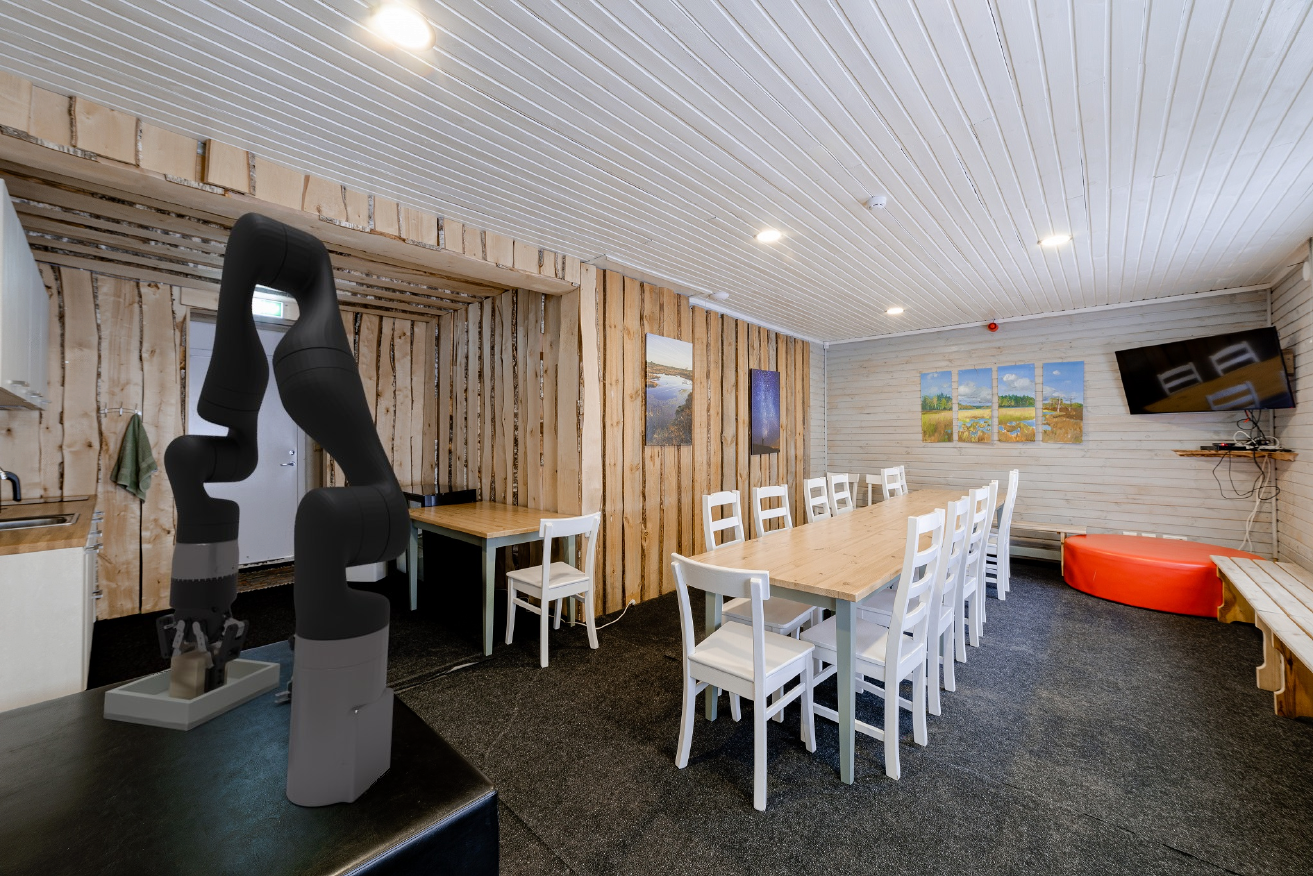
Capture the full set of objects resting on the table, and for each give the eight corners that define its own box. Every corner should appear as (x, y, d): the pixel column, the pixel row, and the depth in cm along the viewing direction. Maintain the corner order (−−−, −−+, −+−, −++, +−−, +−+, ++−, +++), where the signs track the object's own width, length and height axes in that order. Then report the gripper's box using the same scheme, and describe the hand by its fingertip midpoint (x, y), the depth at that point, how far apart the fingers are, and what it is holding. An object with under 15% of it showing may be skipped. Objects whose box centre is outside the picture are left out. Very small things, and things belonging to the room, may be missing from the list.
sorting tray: (278, 686, 82) (280, 663, 82) (187, 730, 69) (189, 703, 69) (205, 677, 84) (207, 654, 84) (103, 718, 71) (105, 691, 71)
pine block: (226, 690, 78) (228, 649, 78) (195, 704, 74) (197, 661, 74) (201, 687, 79) (203, 646, 79) (168, 700, 75) (171, 657, 75)
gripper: (270, 569, 79) (263, 684, 79) (192, 562, 82) (184, 674, 81) (221, 580, 72) (213, 707, 72) (136, 573, 75) (128, 695, 74)
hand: (198, 689), depth 76 cm, fingers closed on pine block, 4 cm apart
